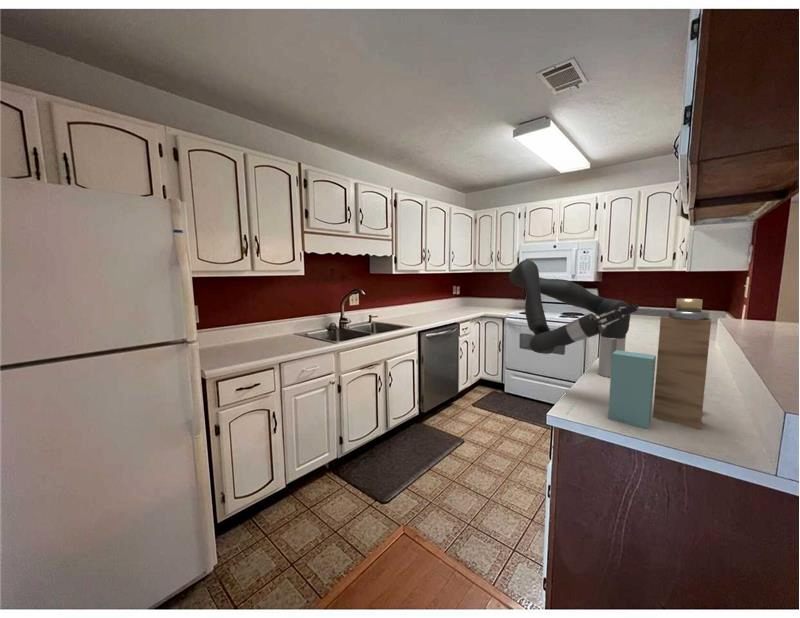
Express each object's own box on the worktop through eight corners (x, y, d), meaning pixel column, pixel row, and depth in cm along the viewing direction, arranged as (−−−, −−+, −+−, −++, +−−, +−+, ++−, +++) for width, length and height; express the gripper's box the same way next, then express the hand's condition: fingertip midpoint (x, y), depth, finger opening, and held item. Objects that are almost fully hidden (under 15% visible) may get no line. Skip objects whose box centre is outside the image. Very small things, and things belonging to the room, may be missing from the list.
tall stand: (655, 411, 105) (663, 314, 101) (701, 422, 97) (711, 318, 93) (652, 417, 100) (660, 317, 96) (700, 429, 93) (711, 320, 89)
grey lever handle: (622, 311, 109) (623, 295, 109) (709, 317, 94) (711, 298, 94) (616, 314, 103) (617, 297, 102) (708, 321, 88) (710, 301, 87)
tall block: (612, 412, 104) (616, 350, 102) (650, 422, 97) (655, 355, 95) (608, 418, 100) (612, 353, 98) (647, 428, 93) (653, 359, 91)
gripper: (572, 320, 110) (626, 298, 99) (584, 316, 120) (634, 294, 109) (583, 340, 108) (639, 319, 97) (594, 334, 118) (646, 314, 107)
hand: (636, 306), depth 103 cm, fingers closed on grey lever handle, 3 cm apart
